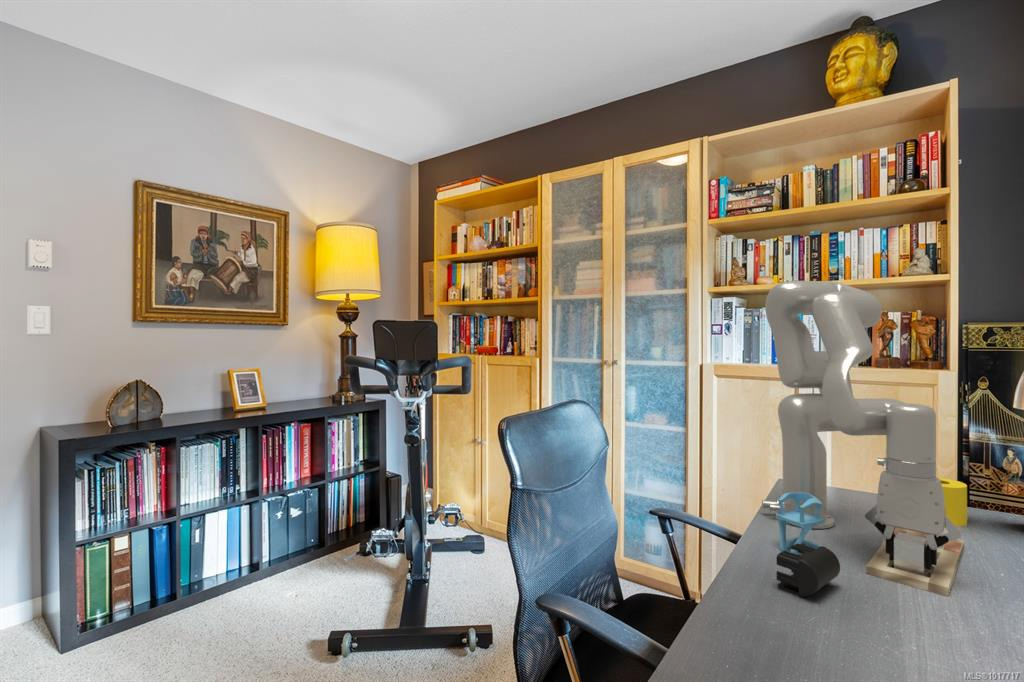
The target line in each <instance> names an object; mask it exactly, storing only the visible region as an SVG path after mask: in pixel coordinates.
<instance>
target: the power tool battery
mask: <svg viewBox="0 0 1024 682" xmlns="http://www.w3.org/2000/svg"><path fill="white" fill-rule="evenodd" d="M794 544H795V543H794ZM794 544H793V545H792V546H791V547H790V550H791V549H793V550H796V551H798V553H802V554H794V553H790V552H791V551H787V550H785V551H781V552H779V553H778V554H776V565H777V566H780V567H782V568H785V569H789V570H790V571H791V572H790V573H792V574H791V575H790V574H788V573H785V572H781V571H778V570H776V581H778V583H777V588H778V589H779V590H781V591H784V592H786V593H789V594H792V595H794V596H797V597H799V598H806V597H810V596H811V595H813V594H815V593H816V592H817V591H819V590H820V589H822V588H823V587H824V586H826V585H828V584H829V583H830V582H831V581H832V580H834V579H836V578H837V577H838V576H839V574H840V571H841V563H840V560H839V559H838V557H837V556H836V554H835V553H834V552H833V551H832V550H831V549H829V548H828V547H826V546H824V545H820V546H821V547H819V548H817V549H815V548H812V547H810V546H807V545H805V544H802V543H801V544H798V543H797V544H795V545H794Z"/></svg>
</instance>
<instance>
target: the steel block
mask: <svg viewBox="0 0 1024 682" xmlns="http://www.w3.org/2000/svg"><path fill="white" fill-rule="evenodd" d="M927 544H928V543H927V538H923V537H919V536H914V535H910V534H905V533H901V532H898V533H897V535H896V536H895V537H894V564H893V568H895V569H898V570H902V571H906V572H910V573H914V574H917V575H921V576H925V577H928V572H927V569H926V568H925V549H926V547H927Z"/></svg>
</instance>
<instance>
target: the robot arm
mask: <svg viewBox="0 0 1024 682" xmlns="http://www.w3.org/2000/svg"><path fill="white" fill-rule="evenodd" d="M764 304H765V307H764V308H765V316H766V320H767V322H768V325H769V326H768V327H769V328H770V331H771V333H772V336H773V343H774V351H775V356H776V362H777V369H778V375H779V378H780V381H781V384H783V385H784V386H785V387H786V388H790V389H818V391H819V393H814V392H813V393H812V392H811V393H810V392H809V393H794V394H790V395H787V396H785V397H784V398H783V399H781V400H780V402H779V404H778V407H777V414H778V415H777V416H778V419H779V425H780V429H781V430H780V431H781V443H782V496H783V495H784V494H786V493H791V492H797V493H798V492H805V493H808V494H811V495H812V496H814V497H816V498H817V499H818V500H819V501H820V502H821V503H822V506H821V508H820V511H819V516H820V518H821V519H824V524H820V525H817V526H815V527H813V528H812V529H816V530H817V529H819V530H821V529H824V530H825V529H828V528H832V527H833V526H835V519H834V518H833V517H832V516H831V515H829V514H827V512H828V511H827V510H828V509H827V508H828V506H827V505H828V504H827V499H828V498H827V497H828V496H827V494H828V492H827V491H828V490H827V488H828V487H827V486H828V485H827V482H828V481H827V475H828V474H827V473H828V472H827V469H828V467H827V463H828V462H827V460H828V459H827V449H826V446H825V444H824V443H823V440H821V438H820V435H819V433H822V432H824V433H825V432H841V433H843V434H845V435H847V436H854V437H856V436H886V437H885V440H886V441H885V442H886V445H885V446H886V447H885V449H886V450H885V452H886V454H885V457H882V458H881V457H877V462H876V463H877V465H878V466H882V467H884V468H885V470H883V471H881V473H880V476H879V481H878V488H877V496H876V497H877V498H876V499H877V500H876V504H875V505H874V506H873V507H872V508H871V509H870V510H869V511H868V512H867V511H866V513H865V514H864V518H865V519H866V520H868V521H869V522H870V523H871V524H872V525H874V527H875V528H876V529H877V530H878V531H879V532H880V533H881V534H882V536H883V538H884V539H886V553H887V554H889V560H892V561H893V560H894V537H895V534H894V531H895V528H896V527H897V528H902V529H906V530H911V531H916V532H920V533H925V535H926V538H927V541H928V543H927V547H926V549H925V568H926V569H927V570H931V568H932V565H936V564H937V560H938V559H937V548H940V547H943V546H942V545H944V544H946V543H947V542H949V541H953V540H955V539H958V540H959V539H960V538H961V537H962V532H961V531H960V529H958V527H956V526H955V525H954V524H953V523H952V522H951V521H950V519H949V518H948V517H947V516H946V512H945V500H944V493H943V488H942V484H941V480H940V479H939V478H940V477H939V478H937V413H936V411H935V409H934V408H933V407H931V406H930V405H929V406H928V405H925V404H919V403H907V402H904V401H901V400H897V399H894V398H855V396H854V393H853V387H852V383H851V377H850V370H851V369H852V367H855V366H856V365H858V364H861V363H863V362H865V361H866V360H868V359H870V357H872V355H873V354H874V346H873V344H872V341H871V340H870V336H869V334H868V333H867V330H866V328H871V327H874V326H876V325H877V324H878V323H879V321H880V320H881V318H882V314H883V312H882V311H883V309H882V305H881V302H880V301H879V299H878V298H877V297H876V296H874V294H872V293H870V292H868V291H865V290H863V289H860V288H857V287H853V286H851V285H847V284H845V283H841V282H837V281H831V280H827V281H826V280H825V281H822V280H790V281H789V280H788V281H784V282H779V283H777V284H775V285H774V286H772V288H771V289H770V290H769V292H768V294H767V296H766V300H765V303H764ZM799 315H807V316H808V315H809V316H810V315H811V316H812V319H813V321H814V323H815V325H816V328H817V331H818V334H819V336H820V338H821V341H822V344H823V346H824V348H825V350H822V351H821V350H817V351H816V350H815V349H814V345H813V339H812V334H811V331H810V329H809V328H808V326H807V325H806V324H805V323H804V321H802V320H801V319H800V318H799ZM782 496H779V498H778V499H780V498H781V497H782ZM778 499H775V500H769V499H762V500H761V506H762V508H763V509H769V510H770V511H774V512H775V515H776V514H779V513H780V510H781V509H780V505H779V502H778ZM804 503H805V501H799V511H801V510H800V506H802V505H803V504H804ZM782 504H783V506H784V509H785V513H787V512H790V511H794V510H795V500H794V499H792V498H788V499H786V500H785V501H784V502H783V503H782ZM816 508H817V507H816V506H811V507H809V508H807V509H806V510H805V511H804V513H805V514H808V515H811V516H814V517H815V510H816ZM786 524H789V525H791V524H792V523H790V522H787V523H786ZM792 526H796V525H794V524H792ZM796 527H797V526H796ZM945 529H946V530H947V532H946V533H944V531H945ZM937 535H940V536H939V537H937Z"/></svg>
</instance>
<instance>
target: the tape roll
mask: <svg viewBox="0 0 1024 682" xmlns="http://www.w3.org/2000/svg"><path fill="white" fill-rule="evenodd" d="M936 477H937V476H936ZM937 478H939V479H940V480H941V484H942V488H943V493H944V500H945V512H946V516H947V517H948V518H949V519H950V521H951V522H952V523H953V524H954V525H955V526H962V527H966V526H967V525H968V485H967V484H966V483H964V482H963V481H958V480H954V479H951V478H945V477H937Z"/></svg>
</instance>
